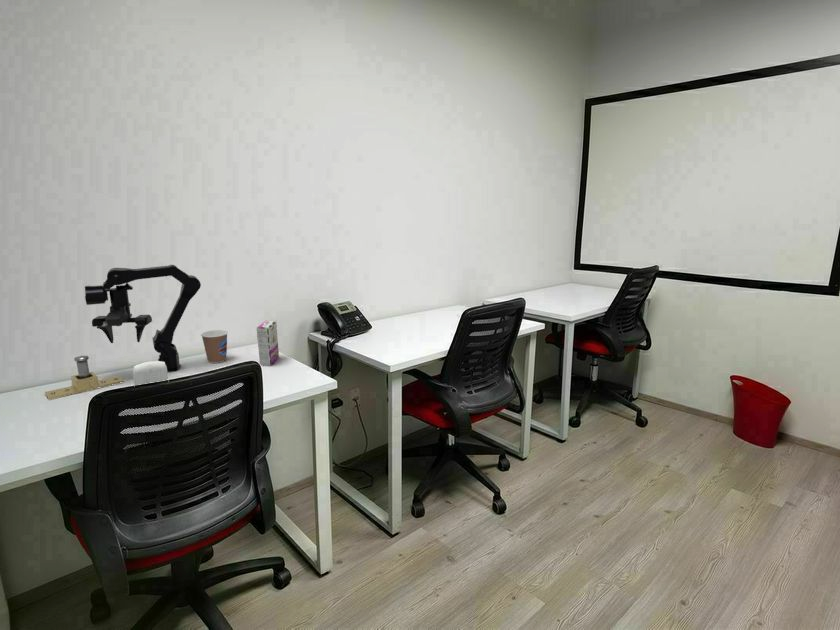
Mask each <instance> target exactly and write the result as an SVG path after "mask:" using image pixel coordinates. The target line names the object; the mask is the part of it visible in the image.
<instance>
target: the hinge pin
mask: <svg viewBox="0 0 840 630" xmlns="http://www.w3.org/2000/svg"><path fill="white" fill-rule="evenodd" d="M73 359H74V360H73V361H74V362H76V368H77V372H78V373H77V375H79V379H83V378H88V377H90V373H89V372H90V369H89V368H90V367H89V363H88V360H89V359H90V357H89V356H88V355H80V356H79V355H78V356H76V357H74V358H73Z"/></svg>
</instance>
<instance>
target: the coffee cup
mask: <svg viewBox="0 0 840 630" xmlns="http://www.w3.org/2000/svg"><path fill="white" fill-rule="evenodd" d="M228 333H229V332H228V331H227V330H225V329H214V330H207V331H204V332H202V333H201V334H200V336H201V338H202V341H203V347H204V351H205V355H206V358H207V361H208V363H210V364H218V362H220V363H223V362H225V361H226V360H227V353H228V346H227V345H228ZM224 360H225V361H224ZM222 361H223V362H222Z"/></svg>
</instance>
